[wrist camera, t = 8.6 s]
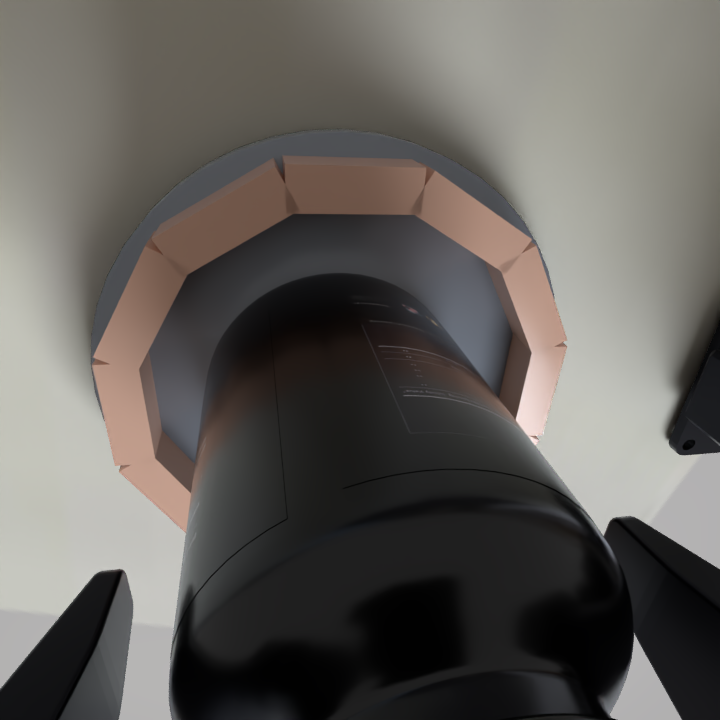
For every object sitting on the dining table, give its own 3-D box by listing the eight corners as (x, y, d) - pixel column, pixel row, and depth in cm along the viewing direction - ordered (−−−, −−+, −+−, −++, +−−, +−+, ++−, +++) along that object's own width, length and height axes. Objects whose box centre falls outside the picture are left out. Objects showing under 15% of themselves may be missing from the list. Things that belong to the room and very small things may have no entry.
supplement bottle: (355, 500, 17) (505, 1151, 7) (161, 414, 14) (-80, 1313, 4) (497, 345, 15) (1012, 942, 5) (303, 207, 12) (563, 963, 2)
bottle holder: (588, 138, 14) (641, 149, 12) (498, 503, 20) (524, 549, 18) (49, 117, 11) (7, 128, 9) (140, 537, 18) (127, 594, 16)
